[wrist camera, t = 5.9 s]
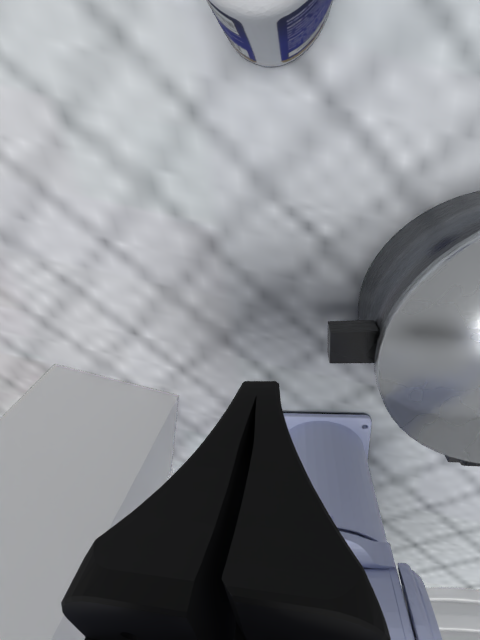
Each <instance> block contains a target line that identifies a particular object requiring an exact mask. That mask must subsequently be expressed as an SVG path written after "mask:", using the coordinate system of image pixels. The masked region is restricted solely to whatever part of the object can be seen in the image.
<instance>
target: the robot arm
mask: <svg viewBox="0 0 480 640" xmlns="http://www.w3.org/2000/svg"><path fill="white" fill-rule="evenodd" d="M371 424H372V422H371V418H370V417H369V416H367V415H344V414H299V413H283V411H282V407H281V401H280V390H279V383H277V382H276V381H245V382H243V383H242V385H241V387H240V389H239V390H238V392H237V394H236V396H235V397H234V399H233V401H232V402H231V404H230V405H229V407H228V409H227V410H226V411H225V413H224V414H223V416H222V417H221V419H220V420H219V422H218V423H217V425H216V426H215V427H214V429H213V430H212V431H211V433H210V434H209V435H208V436H207V438H206V439H205V440H204V442H203V443H202V444H201V445H200V446H199V448H198V449H197V450H196V451H195V452H194V453H193V455H192V456H191V457H190V458H189V459H188V460H187V461H186V462H185V463H184V464H183V465H182V467H181V468H180V469H179V470H178V471H177V472H176V473H175V474H174V475H173V476H172V477H171V478H170V479H169V480H168V481H167V482H166V483H164V484H163V485H162V486H161V487H160V488H159V489H158V490H157V491H156V492H154V493H153V494H152V495H151V496H150V497H149V498H148V499H146V500H145V501H144V502H143V503H142V504H141V505H140V506H138V507H137V508H136V509H135V510H134V511H132V512H131V513H130V514H129V515H127V516H126V517H125V518H123V519H122V520H121V521H119V522H118V523H117V524H116V525H114V526H113V527H112V528H110V529H109V530H108V531H106V532H105V533H104V534H102V535H101V536H100V537H98V538H97V539H95V541H94V543H93V544H92V546H91V548H90V549H89V551H88V552H87V554H86V556H85V557H84V559H83V561H82V563H81V565H80V567H79V569H78V571H77V573H76V575H75V577H74V578H73V580H72V582H71V584H70V586H69V588H68V590H67V592H66V594H65V596H64V598H63V600H62V602H61V606H62V612H63V614H64V615H65V617H66V618H67V619H68V620H69V621H70V622H71V623H72V624H73V625H74V626H75V627H76V628H77V629H78V630H79V631H80V632H81V633H82V634H83V635H84V636H85V639H84V640H442V637H441V633H440V630H439V627H438V624H437V620H436V617H435V614H434V611H433V608H432V605H431V602H430V599H429V596H428V593H427V591H426V588H425V585H424V583H423V581H422V579H421V577H420V576H419V575H417V574H416V573H415V572H414V571H413V570H411V568H410V566H409V565H408V564H406V563H397V564H398V570H399V575H400V580H401V584H402V589H401V585H400V581H399V578H398V574H397V570H396V566H395V562H394V558H393V554H392V550H391V546H390V544H389V543H388V542H387V539H386V535H385V531H384V527H383V523H382V519H381V515H380V511H379V507H378V503H377V499H376V495H375V491H374V487H373V482H372V478H371V474H370V470H369V466H368V462H367V460H368V451H369V442H370V433H371ZM402 591H403V592H402Z"/></svg>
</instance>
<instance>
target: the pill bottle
mask: <svg viewBox="0 0 480 640" xmlns="http://www.w3.org/2000/svg"><path fill="white" fill-rule="evenodd" d="M332 1H333V0H207V2H208V4H209V6H210V7H211V9H212V11H213V13H214V15H215V16H216V18H217V20H218V22H219V24H220V25H221V27H222V29H223V31H224V33H225V34H226V36H227V38H228V39H229V41H230V42H231V44H232V45H233V47H234V48H235V49H236V51H237V52H238V53H239V54H240V55H242V56H243V57H244V58H245V59H247V60H249V61H251V62H253V63H255V64H257V65H261V66H266V67H275V66H280V65H284V64H287V63H289V62H291V61H293V60H294V59H296V58H297V57H299V56H300V55H301V54H303V53H304V52H305V51H306V50H307V49H308V48H309V47H310V46H311V45H312V43H313V42H314V41H315V39H316V38H317V36H318V35H319V33H320V32H321V30H322V28H323V26H324V24H325V22H326V19H327V17H328V14H329V11H330V8H331V5H332Z"/></svg>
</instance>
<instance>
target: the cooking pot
mask: <svg viewBox="0 0 480 640" xmlns="http://www.w3.org/2000/svg"><path fill="white" fill-rule="evenodd" d="M478 231H480V191H478V192H474V193H470V194H467V195H463V196H460V197H457V198H454V199H452V200H449V201H447V202H444V203H442V204H440V205H438V206H436V207H434V208H432V209H430V210H428V211H427V212H425V213H423V214H422V215H420V216H419V217H417V218H416V219H414V220H413V221H411V222H410V223H408V224H407V225H406V226H405V227H404V228H402V229H401V230H400V231H399V232H398V233H396V235H395V236H394V237H393V238H392V239H391V240H390V241H389V242H388V243H387V244H386V245H385V246H384V247H383V249H382V250H381V251H380V252H379V254H378V255H377V256H376V258H375V260H374V261H373V263H372V264H371V266H370V268H369V270H368V272H367V274H366V276H365V279H364V281H363V284H362V288H361V291H360V296H359V303H358V316H359V320H357V321H330V322H328V356H329V362H330V363H375V352H376V346H377V341H378V338H379V335H380V332H381V329H382V327H383V324H384V322H385V320H386V318H387V317H388V315H389V313H390V311H391V309H392V307H393V306H394V305H395V303H396V302H397V300H398V299H399V297H400V296H401V294H402V293H403V292H404V291H405V290H406V288H407V287H408V286H409V285H410V284H411V283H412V282H413V281H414V279H415V278H416V277H417V276H418V275H419V274H420V273H421V272H423V271H424V270H425V269H426V268H427V267H428V266H429V265H430V264H431V263H432V262H434V261H435V260H436V259H437V258H439V257H440V256H441V255H443V254H444V253H445V252H447V251H448V250H449V249H451V248H452V247H453V246H455V245H456V244H458V243H460V242H461V241H463V240H465V239H466V238H468V237H470V236H471V235H473V234H475V233H476V232H478ZM445 457H446V459H447V460H448V462H459V460H458V459H456V458H453V457H449V456H447V455H445Z"/></svg>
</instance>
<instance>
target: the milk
mask: <svg viewBox="0 0 480 640" xmlns="http://www.w3.org/2000/svg"><path fill="white" fill-rule="evenodd" d="M178 399H179V395H175V394H171V393H168V392H164V391H160V390H156V389H152V388H148V387H144V386H140V385H136V384H132V383H128V382H124V381H120V380H116V379H112V378H108V377H104V376H100V375H96V374H92V373H88V372H84V371H80V370H76V369H73V368H69V367H65V366H61V365H57V364H54V365H53V366H52V367H51V368H50V369H49V370H48V371H47V372H46V373H45V374H44V375H43V376H42V377H41V378H40V379H39V380H38V381H37V382H36V383H35V384H34V385H33V386H32V387H31V388H30V389H29V390H28V391H27V392H26V393H25V394H24V395H23V396H22V397H21V398H20V399H19V400H18V401H17V402H16V403H15V404H14V405H13V406H12V407H11V408H10V409H9V410H8V411H7V412H6V413H5V414H4V415H3V416H2V417H1V418H0V640H84V639H85V636H84V635H83V634H82V633H81V632H80V631H79V630H78V629H77V628H76V627H75V626H74V625H73V624H72V623H71V622H70V621H69V620H68V619H67V618H66V617H65V615H64V614H63V612H62V606H61V602H62V600H63V598H64V596H65V594H66V592H67V590H68V588H69V586H70V584H71V582H72V580H73V578H74V577H75V575H76V573H77V571H78V569H79V567H80V565H81V563H82V561H83V559H84V557H85V556H86V554H87V552H88V551H89V549H90V548H91V546H92V544H93V543H94V541H95V539H97V538H98V537H100V536H101V535H102V534H104V533H105V532H106V531H108V530H109V529H110V528H112V527H113V526H114V525H116V524H117V523H118V522H119V521H121V520H122V519H123V518H125V517H126V516H127V515H129V514H130V513H131V512H132V511H134V510H135V509H136V508H137V507H138V506H140V505H141V504H142V503H143V502H144V501H145V500H146V499H148V498H149V497H150V496H151V495H152V494H153V493H154V492H156V491H157V490H158V489H159V488H160V487H161V486H162V485H163V484H164V483H166V481H167V478H168V476H169V474H170V471H171V467H172V457H173V447H174V437H175V428H176V418H177V408H178Z"/></svg>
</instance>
